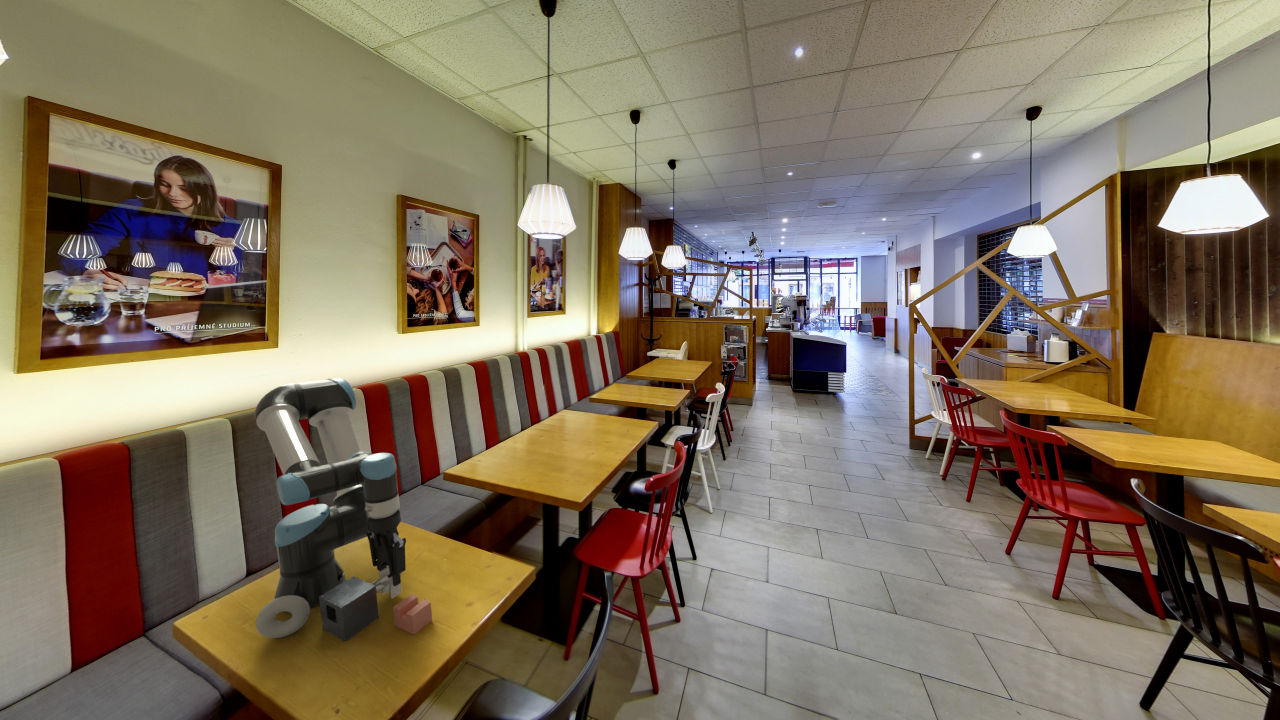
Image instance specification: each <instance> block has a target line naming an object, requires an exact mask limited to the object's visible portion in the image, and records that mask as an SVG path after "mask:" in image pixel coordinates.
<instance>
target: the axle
mask: <svg viewBox="0 0 1280 720" xmlns="http://www.w3.org/2000/svg"><path fill="white" fill-rule="evenodd" d="M389 574H390V572H389V573H387V574H386V575H384V576H382V577H381V578H380V577H378V578H377V579H376V580H374V581H372V582H370V584H373V585H375V586H376V593H377V594H378V593H380V592H381V590H383V589H384V588H386V587H387V586H389V581H388V576H387V575H389ZM400 578H402V573H400Z"/></svg>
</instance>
